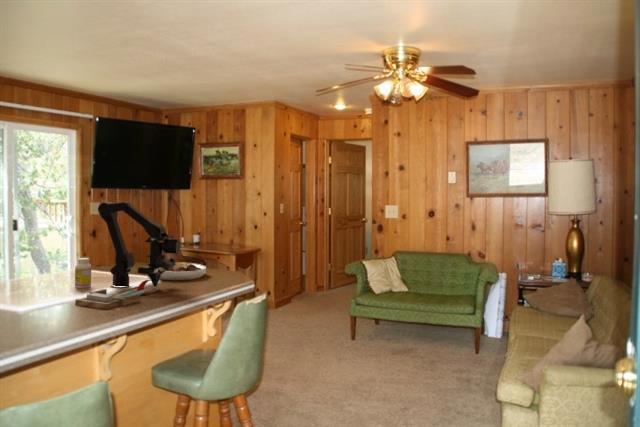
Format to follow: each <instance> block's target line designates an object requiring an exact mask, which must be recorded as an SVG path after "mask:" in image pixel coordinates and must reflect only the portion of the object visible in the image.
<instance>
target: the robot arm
mask: <svg viewBox="0 0 640 427" xmlns="http://www.w3.org/2000/svg"><path fill="white" fill-rule="evenodd" d="M97 212H98V214H99V216H100V218H101V219H102V220H103V221H104V222H105V224H106V226H107V230H108V233H109V236H110V239H111V242H112V244H113V248H114V252H115V258H114V259H115V260H114V261H115V265H114V266H113V267H111V269H110V272H111V275H112V285H115V286H128V287H130V286H129V285H130V272H131V270H132V269H133V267H134V266H135V264H136V262H135V261H136V259H135V257H134V253H133V251H130V252H129V251H128V249H127V247H126V244H125V240H124V238H123V237H124V236H123V234H122V231H121V228H120V225H119V221H118V215H119V213H118V212H124V213H125V214H126V215H127V216H129V218H131V219H132V220H134V221H135V222H136V223H138V224H139V225H140V226H141V227H142V228H143V229H144V231H145V232H146V234H147V235H148V236H149V237H148V238H147V239H146V240H145V241H144V242H145V243H149V254H147V258H149V262H148V263H147V265H142V266H139V267H138V268H137V274H139V275H141V274H142V275H147V276H148V278H149V280H151V281H150V282H151V283H152V285H153V288H156V287H158V284H159V282H160V280H161V279H160V276H161V274H163V273H164V272H165V271H163V269H164V270H166V271H169V270H172V269H173V266H175V265H176V264H175V263H176V258H174V257H171V258H166V254H176V255H178V254H179V253H180V251H181V244H180V240H179V238H170V237H169V235H168V233H167V232H166V228H165V226H164V225H162V224H160V223H159V222H157V221H154V220H152V219H151V218H149V217H147V216H146V215H145V214H144V213H143V212H141V210H139V209H137V208H136V207H135V206H134V205H132V203H130V202H129V201H122V202H118V203H114V202H112V201H110V202H101V203H100V204H99V205H98V207H97ZM164 253H165V254H164ZM162 268H163V269H162Z"/></svg>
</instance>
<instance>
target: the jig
mask: <svg viewBox="0 0 640 427" xmlns="http://www.w3.org/2000/svg"><path fill="white" fill-rule="evenodd" d="M107 292H108V289H106V288H103V289H102V288H101V289H99V290H95V291H93V290H92V291H89V293H86V297H82V298H76V299H74V300H75V303H74V304H75V306H82V307H89V308H96V309H102V310H103V309H104V310H109V309H112V308H115V307H118V306H122V305H123V306H124V305H125V306H128V305H131V304H135V303H137V302H140V300H141V298H140V296H141V295H140V294H138V293H136V294H133V295H129V296H125V297H124V298H118V297H114V296H113V301H110V302H107V303H104V302H97V301H90V300H87V295H88V294H92V293H99V294H106V295H108V294H107ZM134 302H135V303H134ZM127 304H128V305H127ZM125 306H124V307H125Z"/></svg>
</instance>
